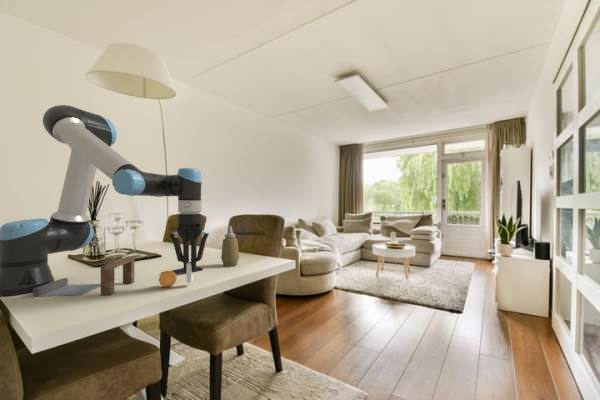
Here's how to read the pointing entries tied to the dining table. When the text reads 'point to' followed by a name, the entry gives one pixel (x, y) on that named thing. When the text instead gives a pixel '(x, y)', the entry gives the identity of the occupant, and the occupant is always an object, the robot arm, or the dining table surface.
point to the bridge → (108, 274)
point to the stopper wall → (50, 287)
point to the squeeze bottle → (230, 249)
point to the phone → (181, 271)
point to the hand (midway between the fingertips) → (189, 281)
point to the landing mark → (72, 290)
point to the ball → (167, 278)
